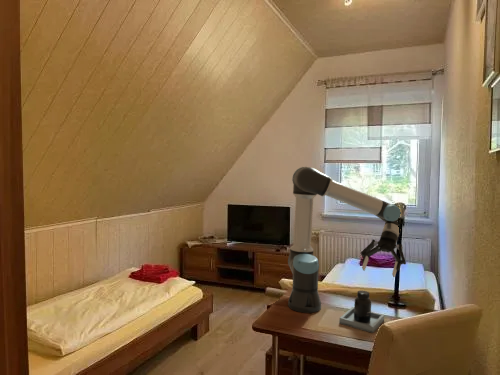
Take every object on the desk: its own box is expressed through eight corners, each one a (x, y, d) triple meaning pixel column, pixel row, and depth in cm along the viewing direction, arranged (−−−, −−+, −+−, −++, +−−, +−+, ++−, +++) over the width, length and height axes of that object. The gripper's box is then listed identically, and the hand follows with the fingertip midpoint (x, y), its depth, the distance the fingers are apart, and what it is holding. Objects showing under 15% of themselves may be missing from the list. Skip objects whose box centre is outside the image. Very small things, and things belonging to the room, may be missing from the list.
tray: (339, 323, 154) (339, 317, 154) (352, 312, 166) (352, 306, 166) (372, 333, 146) (373, 327, 146) (384, 320, 158) (384, 314, 158)
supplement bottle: (371, 324, 152) (372, 295, 151) (354, 322, 154) (355, 294, 153) (369, 317, 159) (370, 290, 158) (353, 315, 160) (354, 288, 159)
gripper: (418, 243, 173) (408, 282, 162) (366, 235, 188) (353, 270, 177) (416, 234, 168) (405, 273, 157) (363, 226, 183) (349, 262, 172)
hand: (378, 272), depth 167 cm, fingers open, 13 cm apart
